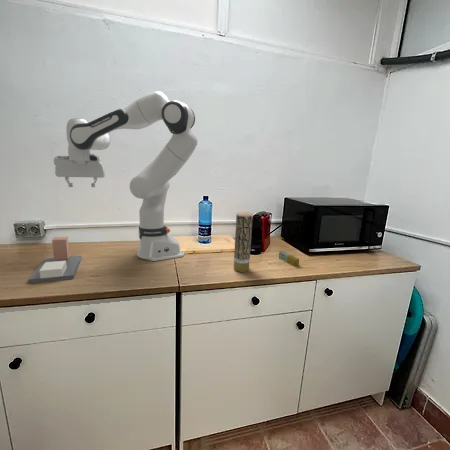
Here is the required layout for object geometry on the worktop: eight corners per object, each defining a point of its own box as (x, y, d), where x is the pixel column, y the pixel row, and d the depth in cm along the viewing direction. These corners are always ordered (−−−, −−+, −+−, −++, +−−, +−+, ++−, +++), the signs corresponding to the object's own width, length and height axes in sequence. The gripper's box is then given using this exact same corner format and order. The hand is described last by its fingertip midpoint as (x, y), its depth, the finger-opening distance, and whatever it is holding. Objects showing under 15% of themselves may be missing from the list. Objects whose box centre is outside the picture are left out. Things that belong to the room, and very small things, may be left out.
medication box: (278, 258, 132) (279, 251, 131) (282, 257, 133) (283, 250, 132) (294, 267, 122) (295, 259, 121) (299, 266, 123) (299, 258, 122)
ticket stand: (81, 258, 120) (80, 248, 119) (73, 278, 100) (72, 267, 99) (45, 261, 115) (44, 251, 114) (29, 283, 95) (27, 271, 94)
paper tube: (248, 273, 112) (252, 215, 106) (232, 271, 113) (235, 214, 108) (249, 267, 119) (253, 212, 113) (234, 265, 120) (237, 211, 114)
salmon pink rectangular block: (69, 256, 117) (67, 236, 115) (67, 259, 114) (65, 239, 111) (56, 257, 115) (54, 237, 113) (54, 260, 112) (52, 240, 110)
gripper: (51, 155, 114) (54, 187, 118) (103, 157, 121) (105, 187, 125) (54, 155, 120) (58, 186, 123) (104, 157, 127) (106, 186, 130)
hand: (82, 187), depth 124 cm, fingers open, 8 cm apart
